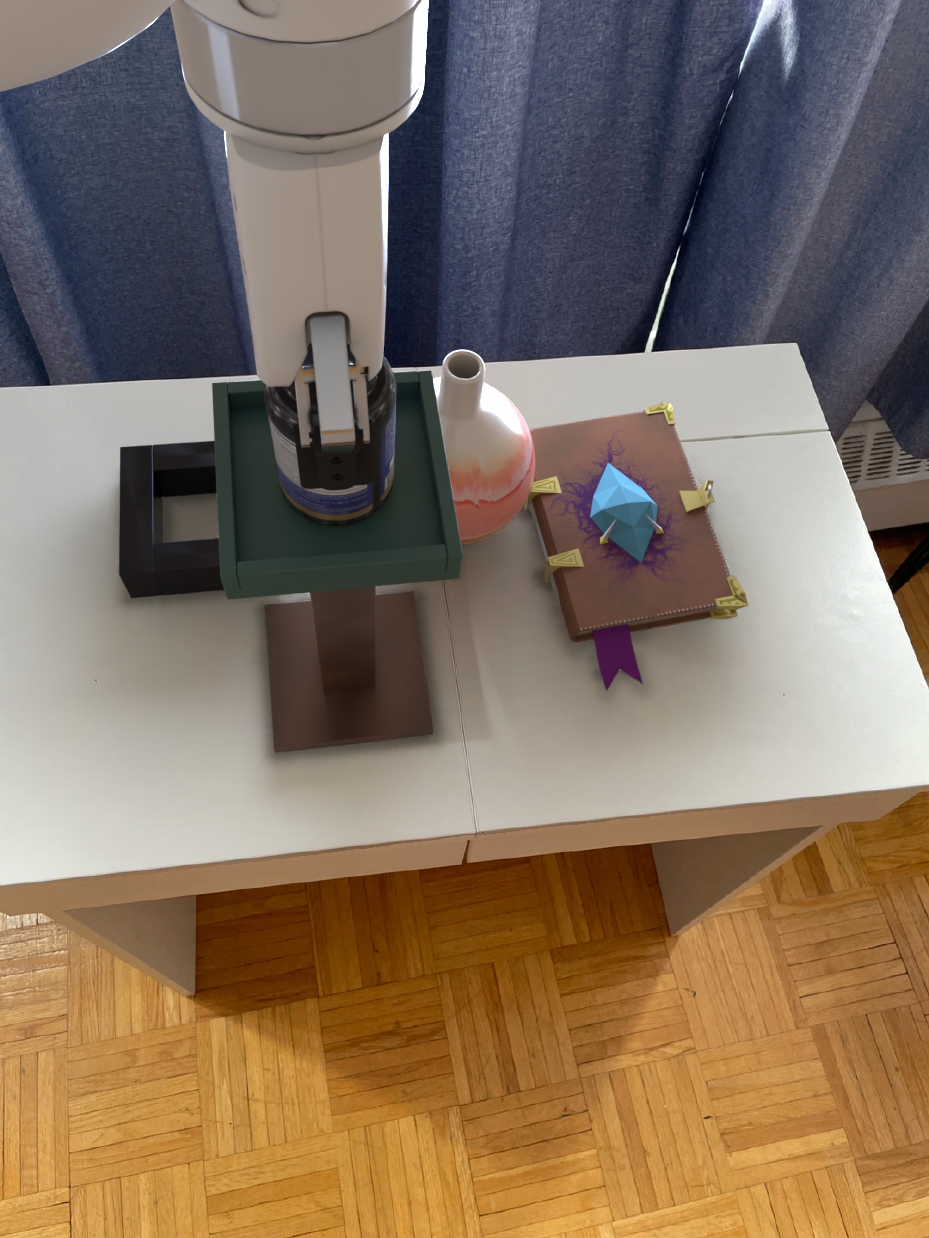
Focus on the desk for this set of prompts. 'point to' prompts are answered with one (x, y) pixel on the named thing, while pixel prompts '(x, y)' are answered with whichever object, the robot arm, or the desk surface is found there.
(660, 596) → the book
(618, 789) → the desk surface
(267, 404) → the pill bottle
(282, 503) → the tray
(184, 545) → the holder
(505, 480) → the vase
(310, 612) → the stand
